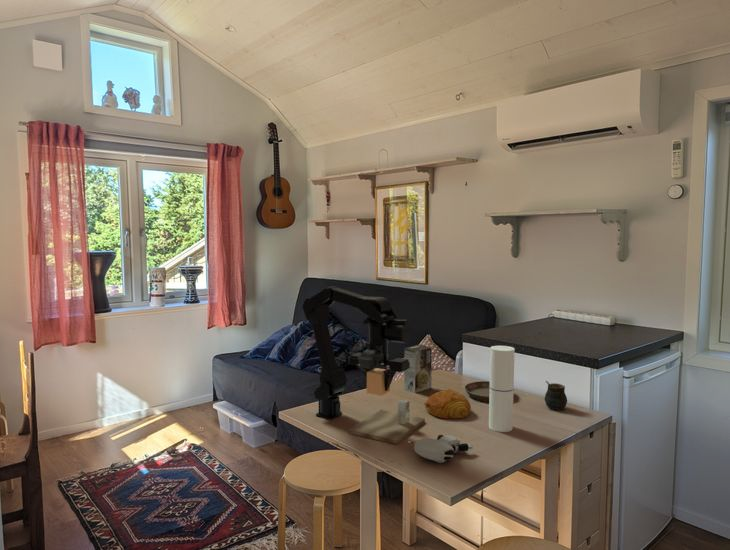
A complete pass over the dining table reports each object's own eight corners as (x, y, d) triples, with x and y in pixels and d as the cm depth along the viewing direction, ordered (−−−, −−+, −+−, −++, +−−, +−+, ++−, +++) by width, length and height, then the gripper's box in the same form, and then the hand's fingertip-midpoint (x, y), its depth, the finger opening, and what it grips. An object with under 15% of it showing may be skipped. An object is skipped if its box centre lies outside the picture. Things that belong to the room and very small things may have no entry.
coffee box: (419, 384, 210) (420, 344, 208) (431, 388, 205) (432, 347, 204) (403, 389, 204) (403, 347, 203) (415, 393, 199) (415, 350, 198)
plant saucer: (491, 407, 184) (491, 398, 184) (454, 394, 198) (454, 386, 198) (523, 397, 195) (523, 389, 194) (486, 386, 209) (486, 378, 209)
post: (397, 423, 165) (398, 401, 164) (401, 421, 167) (401, 399, 166) (405, 425, 164) (405, 403, 163) (409, 422, 166) (409, 400, 165)
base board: (348, 433, 160) (348, 429, 160) (380, 413, 177) (380, 409, 177) (395, 444, 152) (395, 440, 152) (424, 422, 169) (424, 418, 169)
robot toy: (440, 444, 155) (405, 455, 144) (440, 429, 155) (406, 439, 144) (475, 457, 146) (441, 470, 135) (476, 441, 146) (442, 453, 135)
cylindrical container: (496, 433, 161) (497, 351, 158) (484, 424, 168) (486, 346, 165) (517, 430, 163) (519, 350, 160) (504, 422, 169) (506, 345, 167)
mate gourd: (571, 410, 181) (572, 381, 180) (554, 413, 178) (554, 384, 177) (556, 403, 187) (557, 375, 186) (539, 406, 185) (540, 378, 184)
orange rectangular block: (366, 393, 162) (366, 371, 162) (375, 388, 167) (375, 368, 166) (381, 395, 160) (381, 374, 159) (390, 391, 164) (389, 370, 164)
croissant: (457, 409, 188) (456, 386, 189) (477, 418, 173) (476, 393, 173) (418, 411, 185) (418, 388, 185) (435, 421, 169) (435, 395, 170)
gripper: (338, 340, 160) (338, 391, 161) (392, 347, 150) (392, 401, 152) (357, 334, 169) (358, 382, 171) (410, 340, 160) (410, 391, 161)
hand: (378, 389), depth 163 cm, fingers closed on orange rectangular block, 5 cm apart
